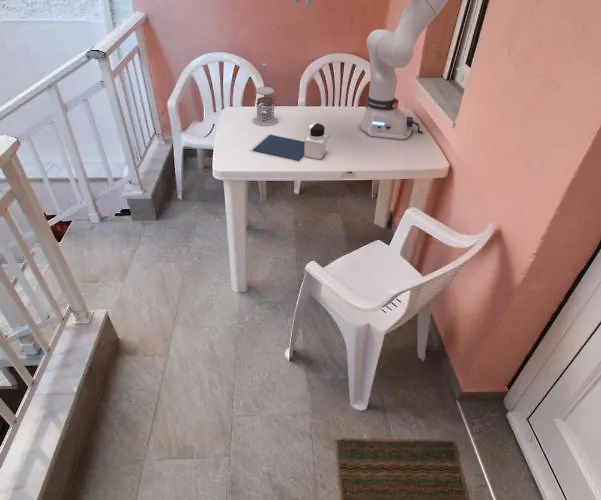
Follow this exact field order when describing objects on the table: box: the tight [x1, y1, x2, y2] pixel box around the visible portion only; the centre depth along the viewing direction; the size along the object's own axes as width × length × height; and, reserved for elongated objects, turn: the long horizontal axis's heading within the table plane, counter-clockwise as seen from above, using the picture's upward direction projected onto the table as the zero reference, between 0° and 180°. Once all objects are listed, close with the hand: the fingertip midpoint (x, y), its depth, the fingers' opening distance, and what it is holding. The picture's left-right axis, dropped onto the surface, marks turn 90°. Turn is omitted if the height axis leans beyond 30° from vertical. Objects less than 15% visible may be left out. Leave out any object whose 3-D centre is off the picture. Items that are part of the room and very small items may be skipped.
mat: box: [252, 134, 305, 162], centre depth 169 cm, size 20×16×1 cm
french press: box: [254, 62, 279, 126], centre depth 182 cm, size 10×12×25 cm
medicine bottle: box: [303, 123, 328, 160], centre depth 161 cm, size 7×7×12 cm
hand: (301, 4), depth 144 cm, fingers open, 8 cm apart
